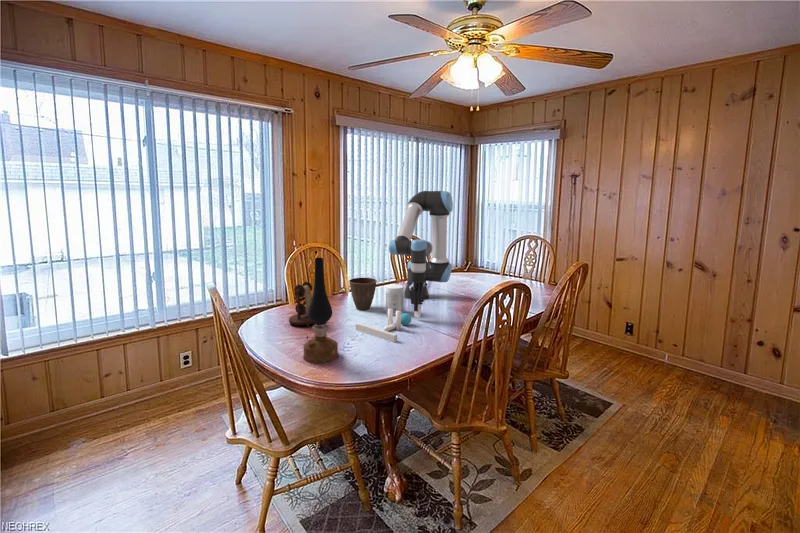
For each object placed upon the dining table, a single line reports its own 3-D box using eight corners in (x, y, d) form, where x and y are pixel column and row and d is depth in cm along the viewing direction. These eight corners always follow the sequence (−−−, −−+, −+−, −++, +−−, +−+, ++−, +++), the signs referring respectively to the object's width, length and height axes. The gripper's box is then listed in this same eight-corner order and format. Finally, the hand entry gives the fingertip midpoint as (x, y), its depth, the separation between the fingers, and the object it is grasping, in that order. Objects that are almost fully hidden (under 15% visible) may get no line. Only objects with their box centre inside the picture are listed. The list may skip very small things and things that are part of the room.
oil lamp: (339, 358, 171) (352, 261, 171) (335, 367, 156) (349, 261, 156) (305, 354, 171) (318, 257, 171) (298, 362, 155) (312, 256, 155)
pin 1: (390, 326, 201) (390, 308, 200) (393, 327, 200) (393, 309, 198) (386, 327, 199) (386, 309, 198) (390, 328, 198) (390, 310, 196)
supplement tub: (396, 309, 230) (396, 283, 227) (407, 313, 223) (407, 286, 220) (382, 312, 224) (382, 285, 221) (393, 316, 217) (393, 289, 214)
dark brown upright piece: (309, 329, 196) (308, 287, 192) (282, 325, 200) (281, 285, 197) (325, 320, 209) (324, 281, 206) (299, 317, 214) (298, 278, 210)
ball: (394, 320, 202) (400, 326, 206) (404, 322, 198) (410, 328, 202) (400, 309, 204) (406, 315, 208) (409, 311, 200) (415, 318, 204)
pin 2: (397, 328, 198) (398, 310, 196) (401, 329, 196) (402, 311, 195) (394, 329, 196) (394, 311, 195) (398, 331, 195) (398, 312, 193)
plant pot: (375, 312, 223) (375, 283, 220) (347, 312, 223) (347, 283, 220) (377, 305, 238) (377, 277, 235) (351, 304, 238) (351, 277, 235)
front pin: (396, 322, 201) (383, 326, 194) (400, 323, 199) (387, 327, 193) (396, 326, 201) (383, 331, 195) (400, 328, 200) (387, 332, 193)
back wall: (359, 328, 197) (359, 322, 197) (397, 341, 182) (397, 334, 181) (355, 329, 196) (355, 323, 195) (394, 342, 180) (394, 335, 180)
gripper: (420, 268, 214) (419, 312, 218) (403, 271, 204) (403, 318, 208) (432, 270, 209) (430, 315, 213) (415, 273, 199) (414, 321, 203)
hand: (417, 316), depth 211 cm, fingers closed
